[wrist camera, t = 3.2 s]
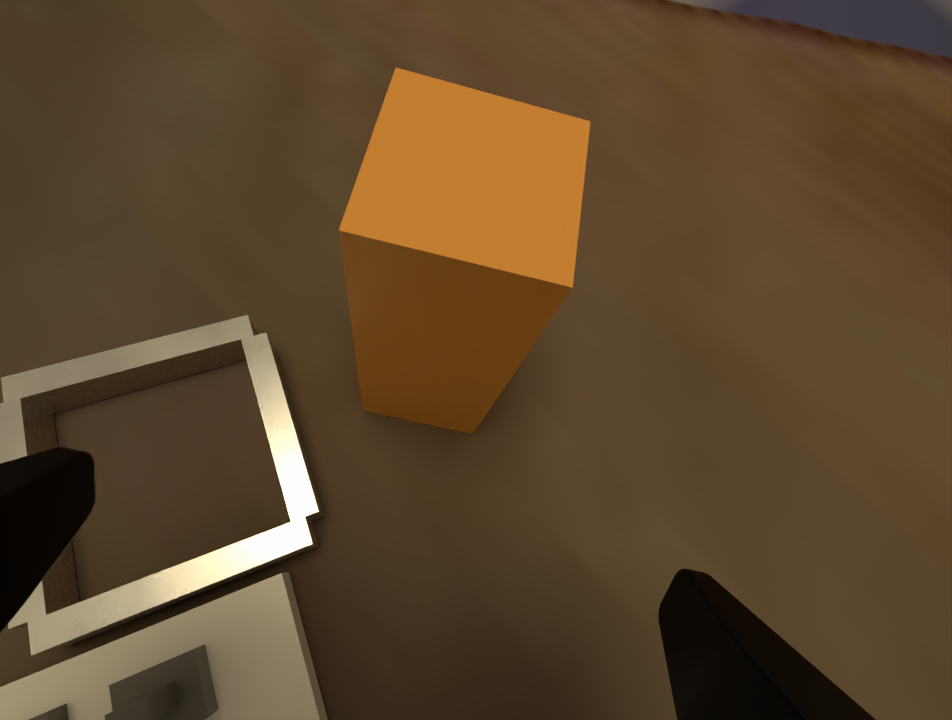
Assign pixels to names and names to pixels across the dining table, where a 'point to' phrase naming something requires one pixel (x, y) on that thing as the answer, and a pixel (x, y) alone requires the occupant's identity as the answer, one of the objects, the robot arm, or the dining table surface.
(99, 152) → the dining table surface
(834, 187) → the dining table surface
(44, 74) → the dining table surface
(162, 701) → the breaker bank
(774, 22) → the dining table surface
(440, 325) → the cap
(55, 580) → the frame
